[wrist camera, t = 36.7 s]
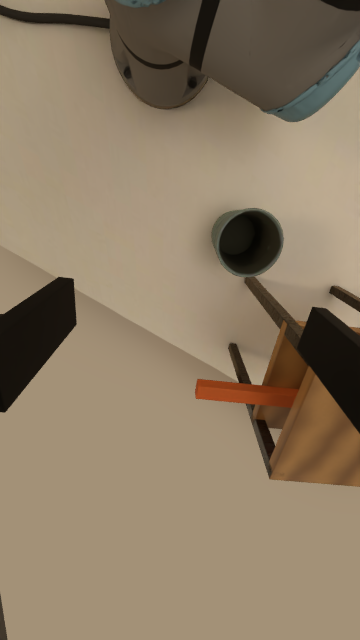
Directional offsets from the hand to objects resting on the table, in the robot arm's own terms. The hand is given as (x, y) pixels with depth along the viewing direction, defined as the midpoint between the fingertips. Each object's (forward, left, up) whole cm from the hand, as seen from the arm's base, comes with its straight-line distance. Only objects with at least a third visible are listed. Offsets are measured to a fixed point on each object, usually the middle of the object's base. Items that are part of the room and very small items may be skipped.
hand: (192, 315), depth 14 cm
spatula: (+17, -18, -16) cm, 29 cm away
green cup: (+10, +1, -39) cm, 40 cm away
